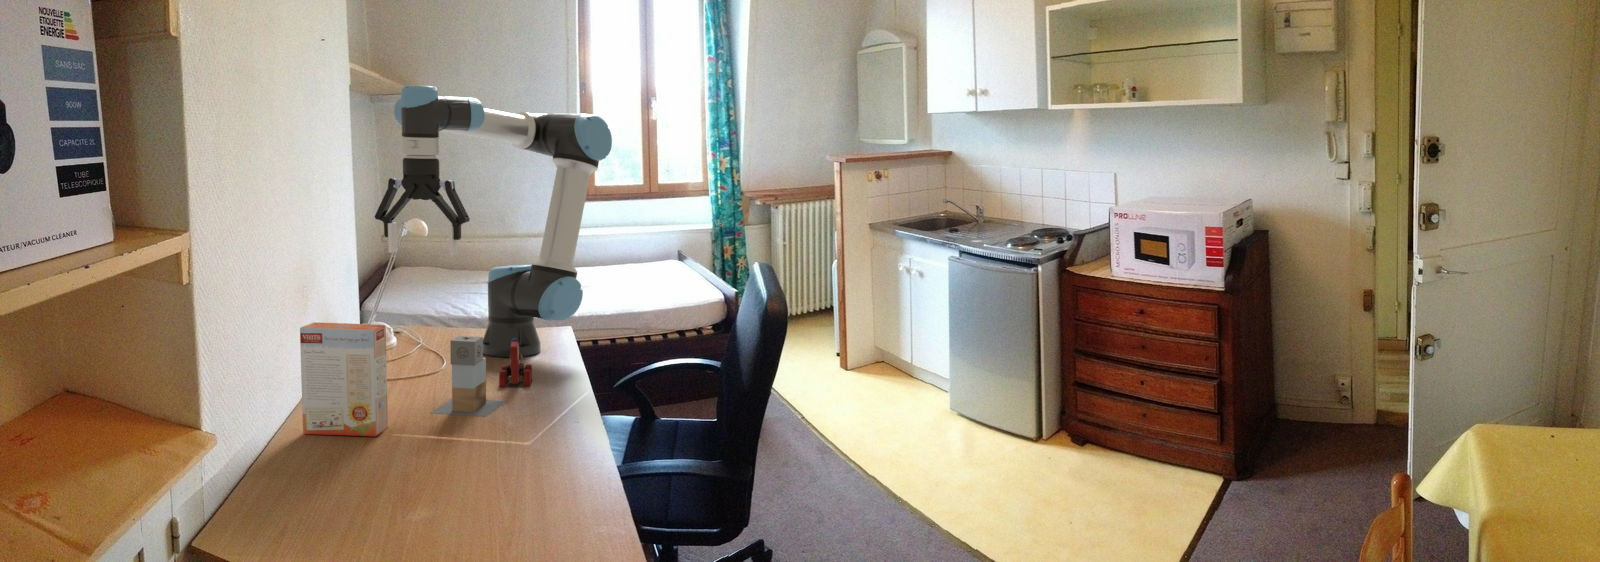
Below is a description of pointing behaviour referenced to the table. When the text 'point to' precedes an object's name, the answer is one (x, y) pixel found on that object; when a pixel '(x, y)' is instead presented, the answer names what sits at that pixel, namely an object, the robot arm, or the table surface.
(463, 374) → the tower mid
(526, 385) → the toy fire truck
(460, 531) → the table surface
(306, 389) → the cracker box
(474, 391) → the tower base
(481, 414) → the mat
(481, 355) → the dice cube
